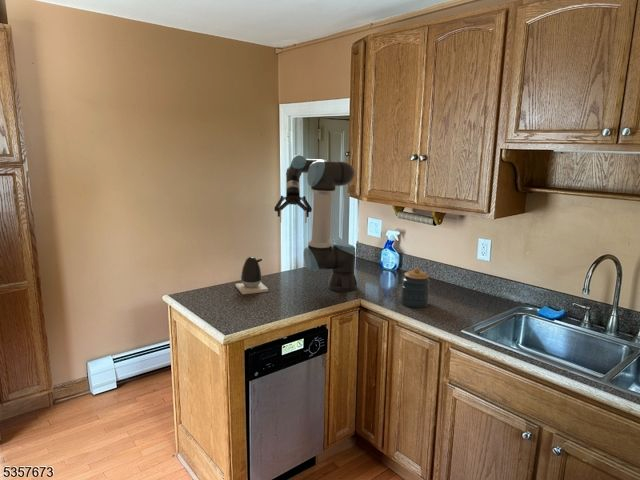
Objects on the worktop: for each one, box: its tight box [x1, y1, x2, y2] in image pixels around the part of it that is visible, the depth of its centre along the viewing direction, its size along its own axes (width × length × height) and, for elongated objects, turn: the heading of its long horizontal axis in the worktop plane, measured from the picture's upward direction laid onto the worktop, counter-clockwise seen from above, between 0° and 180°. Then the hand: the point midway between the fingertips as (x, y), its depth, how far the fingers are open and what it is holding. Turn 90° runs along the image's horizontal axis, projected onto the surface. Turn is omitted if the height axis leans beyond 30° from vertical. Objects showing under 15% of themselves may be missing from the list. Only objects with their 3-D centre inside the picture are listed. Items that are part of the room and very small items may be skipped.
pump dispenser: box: [240, 256, 263, 288], centre depth 222 cm, size 10×10×15 cm
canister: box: [400, 267, 431, 309], centre depth 209 cm, size 13×13×18 cm
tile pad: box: [235, 281, 269, 295], centre depth 223 cm, size 13×13×2 cm
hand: (293, 221), depth 237 cm, fingers open, 13 cm apart
